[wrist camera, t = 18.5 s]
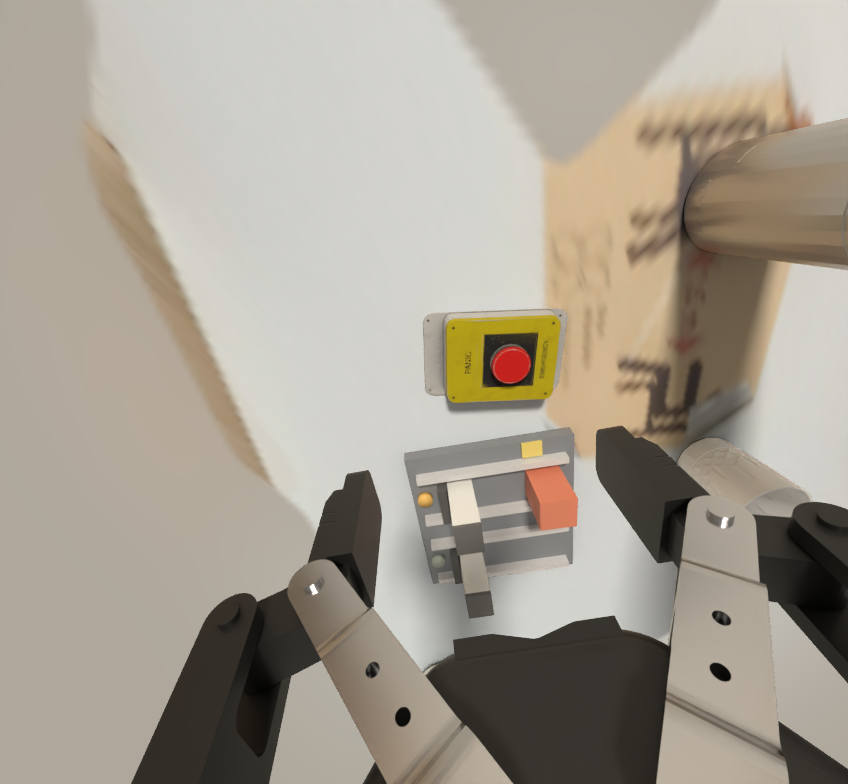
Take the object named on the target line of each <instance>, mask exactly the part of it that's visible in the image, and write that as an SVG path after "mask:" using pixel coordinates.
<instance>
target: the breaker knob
mask: <svg viewBox="0 0 848 784" xmlns="http://www.w3.org/2000/svg"><path fill="white" fill-rule="evenodd" d="M460 562H461V569H462V576H463V583H464V590H465V597H466V603H467V608H468V614H469V618H476V617H484V616H491V615H494V613H493V605H492V598H491V591H490V587H489V582H488V577H487V572H486V568H485V563H484V558H483V553H482V552H480V553H473V554H466V555H460Z"/></svg>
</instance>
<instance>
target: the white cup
mask: <svg viewBox="0 0 848 784" xmlns="http://www.w3.org/2000/svg"><path fill="white" fill-rule="evenodd" d="M677 465H678V466H680V467H681V468H682V469H683V470H684V471H686V472H687V473H688V474H689V475H690V476H691V477H692V478H693V479H694V480H695V481H696V482H697V483H698V484H699V485H700V486H701V487H703V488H704V489H705V490H706V491H707V492H708V493H709V494H710V495H711V496H718V497H723V498H727V499H729V500H732V501H734V502H736V503H738V504H740V505H742V506H743V507H745V508H746V509H747V510H748V511H749V512H750V513H751V514H755V515H766V516H779V517H791V516H792V512H793V509H794V508H795V507H796V506H797V505H799V504H801V503H806V502H813V500H812V497H811V495H810V494H809V493H808V492H807V491H805V490H804V489H802V488H801V487H799V486H798V485H796V484H795V483H793V482H791V481H790V480H788V479H787V478H785V477H784V476H782V475H781V474H779V473H778V472H776V471H775V470H773V469H771V468H770V467H768V466H767V465H765V464H763V463H762V462H760V461H759V460H757V459H755V458H754V457H752V456H750V455H749V454H747V453H746V452H744V451H742V450H739V449H738V448H736V447H735V446H733V445H732V444H730V443H729V442H727V441H725V440H723V439H720V438H705V439H702V440H699V441H697V442H694V443H693V444H691V445H690V446H689V447H688V448H686V449H685V450H684V451H683V452H682V454H681V456H680V457H679V459H678V462H677Z"/></svg>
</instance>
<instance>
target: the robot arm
mask: <svg viewBox="0 0 848 784" xmlns="http://www.w3.org/2000/svg"><path fill="white" fill-rule="evenodd" d="M684 223H685V228H686V231H687V233H688V235H689V238H690V239H691V240H692V241H693V243H694V244H695V245H696V246H698V247H699V248H701V249H703V250H705V251H709V252H713V253H720V254H728V255H736V256H743V257H750V258H757V259H765V260H773V261H780V262H788V263H796V264H804V265H811V266H819V267H827V268H835V269H842V270H848V118H845V119H841V120H836V121H832V122H827V123H822V124H818V125H813V126H809V127H804V128H800V129H795V130H790V131H785V132H780V133H776V134H771V135H767V136H762V137H758V138H753V139H749V140H744V141H740V142H738V143H735V144H733V145H730V146H728V147H727V148H725V149H724V150H722V151H720V152H719V153H717V154H716V155H715V156H714V157H713V158H712V159H711V160H710V161H709V162H707V164H706V165H705V166H704V167H703V169H702V170H701V171H700V172H699V174H698V175H697V177H696V179H695V180H694V182H693V184H692V185H691V188H690V190H689V193H688V195H687V199H686V203H685V208H684ZM596 471H597V475H598V478H599V480H600V482H601V484H602V485H603V487H604V488H605V490H606V491H607V492H608V494H609V495H610V497H611V498H612V499H613V501H614V502H615V504H616V505H617V507H618V508H619V509H620V511H621V512H622V514H623V515H624V516H625V518H626V519H627V521H628V522H629V524H630V525H631V526H632V528H633V529H634V531H635V532H636V533H637V535H638V536H639V538H640V539H641V541H642V542H643V543H644V545H645V546H646V548H647V549H648V550H649V552H650V553H651V555H652V556H653V558H654V559H655V560H656V562H657V563H663V562H669V561H673V562H674V563H675V565H676V566H677V567H678V571H677V577H676V585H675V593H674V601H673V609H672V617H671V625H670V633H669V640H668V645H666V644H664V643H662V642H660V641H658V640H656V639H654V638H651V637H649V636H646V635H643V634H640V633H637V632H633V631H628V630H622V629H621V628H620V626H619V624H618V622H617V620H616V618H615V616H608V617H601V618H595V619H588V620H582V621H575V622H572V623H570V624H568V625H566V626H564V627H561V628H559V629H557V630H555V631H553V632H551V633H549V634H546V635H544V636H542V637H540V638H537V639H530V638H521V637H513V636H504V635H496V634H489V635H482V636H476V637H469V638H463V639H456V640H453V643H454V653H455V654H453V655H451V656H449V657H447V658H445V659H444V660H442V661H441V662H439V663H438V664H437V665H436V666H434V667H433V668H432V669H431V670H430V671H429V672H428V673H427V674H426V675H424V673H423V672H422V671H421V670H420V668H419V667H418V666H417V664H416V663H415V662H414V660H413V659H412V658H411V657H410V655H409V654H408V653H407V651H406V650H405V649H404V648H403V646H402V645H401V644H400V642H399V641H398V640H397V638H396V637H395V636H394V635H393V633H392V632H391V631H390V629H389V628H388V627H387V625H386V624H385V623H384V622H383V620H382V619H381V618H380V616H379V615H378V614H377V613H376V611H375V610H374V609H373V608H372V607H374V597H375V586H376V575H377V565H378V554H379V543H380V533H381V522H382V514H381V507H380V502H379V499H378V496H377V493H376V490H375V487H374V484H373V480H372V477H371V474H370V472H369V471H368V470H366V471H361V472H355V473H349V474H347V475H346V479H345V483H344V487H343V489H342V490H336V491H334V492H333V493H332V495H331V496H330V497H329V498H328V500H327V501H326V503H325V506H324V509H323V513H322V516H321V520H320V523H319V525H320V526H319V527H318V530H317V533H316V537H315V540H314V544H313V547H312V550H311V554H310V557H309V561H308V564H306V565H304V566H303V567H302V568H300V569H299V570H298V571H297V572H296V573H295V574H294V576H293V577H292V579H291V580H290V582H289V585H288V587H287V588H286V589H284V590H282V591H280V592H278V593H276V594H274V595H271V596H269V597H267V598H265V599H263V600H261V601H258V602H257V601H256V599H255V598H254V597H253V596H252V595H251V594H247V593H242V594H236V595H234V596H231V597H229V598H227V599H225V600H224V601H223V602H221V603H220V604H219V605H217V606H216V608H214V609H213V610H212V611H211V613H210V614H209V615H208V617H207V618H206V620H205V622H204V624H203V626H202V628H201V630H200V632H199V635H198V637H197V639H196V641H195V644H194V646H193V648H192V650H191V652H190V654H189V657H188V659H187V661H186V663H185V666H184V668H183V670H182V672H181V675H180V677H179V679H178V681H177V683H176V686H175V688H174V690H173V692H172V695H171V697H170V699H169V701H168V703H167V705H166V708H165V710H164V712H163V714H162V717H161V719H160V721H159V723H158V725H157V728H156V730H155V732H154V734H153V736H152V739H151V741H150V743H149V745H148V748H147V750H146V752H145V755H144V756H143V759H142V761H141V763H140V765H139V767H138V770H137V772H136V774H135V776H134V779H133V781H132V783H131V784H269V781H270V775H271V771H272V766H273V761H274V756H275V752H276V747H277V742H278V737H279V732H280V728H281V723H282V718H283V713H284V708H285V703H286V698H287V694H288V689H289V684H290V679H291V676H292V675H294V674H296V673H298V672H300V671H302V670H303V669H305V668H307V667H309V666H311V665H313V664H315V663H317V662H319V661H321V660H322V662H323V664H324V666H325V668H326V670H327V672H328V673H329V675H330V677H331V679H332V681H333V683H334V685H335V687H336V689H337V690H338V692H339V694H340V696H341V698H342V699H343V702H344V703H345V705H346V707H347V709H348V711H349V713H350V715H351V717H352V719H353V720H354V722H355V724H356V726H357V728H358V730H359V732H360V734H361V736H362V737H363V739H364V741H365V743H366V745H367V747H368V749H369V751H370V753H371V754H372V756H373V758H374V760H375V763H374V765H373V767H372V768H371V770H370V772H369V774H368V775H367V777H366V779H365V781H364V783H363V784H848V769H847V768H845V767H844V766H843V765H841V764H840V763H838V762H837V761H835V760H834V759H833V758H831V757H830V756H828V755H827V754H825V753H824V752H822V751H821V750H819V749H818V748H817V747H815V746H814V745H812V744H811V743H809V742H808V741H806V740H805V739H804V738H802V737H800V736H799V735H798V734H796V733H795V732H793V731H792V730H790V729H789V728H788V727H786V726H785V725H783V724H782V723H780V722H779V721H778V712H777V700H776V689H775V676H774V663H773V652H772V639H771V627H770V615H769V602H768V601H771V602H778V603H779V605H780V606H781V607H782V608H783V609H784V610H785V611H786V612H787V614H788V615H789V616H790V617H791V618H792V620H794V622H795V623H796V624H797V625H798V626H799V628H800V629H801V630H802V631H803V632H804V633H805V634H806V636H808V638H809V639H810V640H811V641H812V643H813V644H814V645H815V646H816V647H817V648H818V649H819V651H820V652H821V653H822V654H823V655H824V656H825V657H826V658H827V660H828V661H829V662H830V663H831V664H832V666H834V668H835V669H836V670H837V671H838V672H839V674H840V675H841V676H842V677H843V678H844V679H845V681H846V682H847V683H848V510H847V509H845V508H842V507H839V506H835V505H832V504H827V503H821V502H806V503H801V504H799V505H797V506H796V507H795V508H794V509H793V512H792V516H791V517H779V516H766V515H755V514H751V513H750V512H749V511H748V510H747V509H746V508H745V507H743V506H742V505H740V504H738V503H736V502H734V501H732V500H729V499H727V498H723V497H718V496H711V495H710V494H709V493H708V492H707V491H706V490H705V489H704V488H703V487H701V486H700V485H699V484H698V483H697V482H696V481H695V480H694V479H693V478H692V477H691V476H690V475H689V474H688V473H687V472H686V471H684V470H683V469H682V468H681V467H680V466H678V465H677V463H676V462H675V461H674V460H673V459H672V458H671V457H668V455H667V454H666V453H665V452H664V451H663V450H662V449H661V448H660V447H659V446H658V445H656V444H654V443H652V442H650V441H648V440H646V439H644V438H642V437H641V438H634V437H633V436H632V435H631V434H630V433H629V432H628V431H627V430H626V429H625V428H624V427H623V426H616V427H611V428H605V429H600V430H598V431H597V434H596Z"/></svg>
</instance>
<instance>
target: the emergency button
mask: <svg viewBox="0 0 848 784" xmlns="http://www.w3.org/2000/svg"><path fill="white" fill-rule="evenodd" d="M567 319H568V316H567V313H566V312H565V311H564V310H563V309H559V308H551V309H525V310H499V311H474V312H448V313H432V314H428V315H427V316H426V317H425V318H424V321H423V336H424V366H425V388H426V391H427V392H428V393H429V394H432V395H447V398H448V399H449V400H450V401H451V402H454V403H464V402H487V401H511V400H535V399H546V398H548V397H550V396H551V394H552V392H553V389H554V388H555V387H556V386H557V385H558V383H559V376H560V369H561V362H562V355H563V347H564V340H565V333H566V326H567Z"/></svg>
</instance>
